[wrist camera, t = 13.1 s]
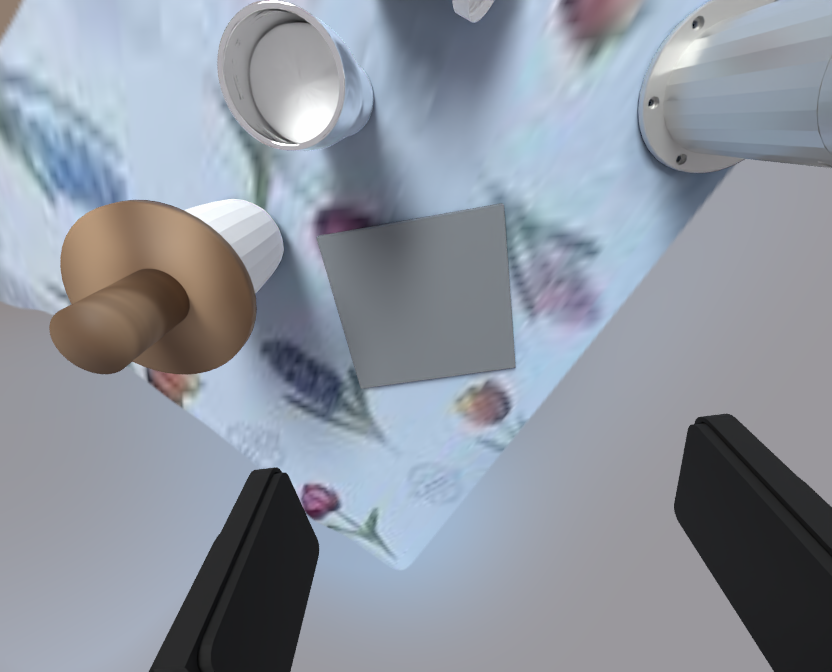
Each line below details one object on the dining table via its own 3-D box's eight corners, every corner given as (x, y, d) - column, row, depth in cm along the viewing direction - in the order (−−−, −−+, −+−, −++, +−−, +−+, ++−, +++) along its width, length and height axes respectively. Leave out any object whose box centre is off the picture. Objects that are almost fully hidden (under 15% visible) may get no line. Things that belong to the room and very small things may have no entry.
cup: (187, 209, 38) (71, 250, 26) (265, 180, 37) (183, 209, 24) (232, 288, 42) (150, 358, 29) (304, 265, 41) (251, 328, 28)
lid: (212, 182, 24) (136, 203, 17) (281, 354, 29) (242, 416, 23) (33, 219, 25) (-96, 251, 19) (131, 377, 30) (57, 442, 24)
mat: (502, 203, 37) (503, 204, 37) (514, 363, 46) (515, 367, 45) (318, 235, 39) (316, 237, 38) (361, 384, 47) (360, 388, 47)
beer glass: (372, 151, 36) (341, 167, 22) (293, 133, 35) (214, 139, 22) (385, 58, 32) (357, 13, 19) (299, 37, 32) (209, -24, 19)
